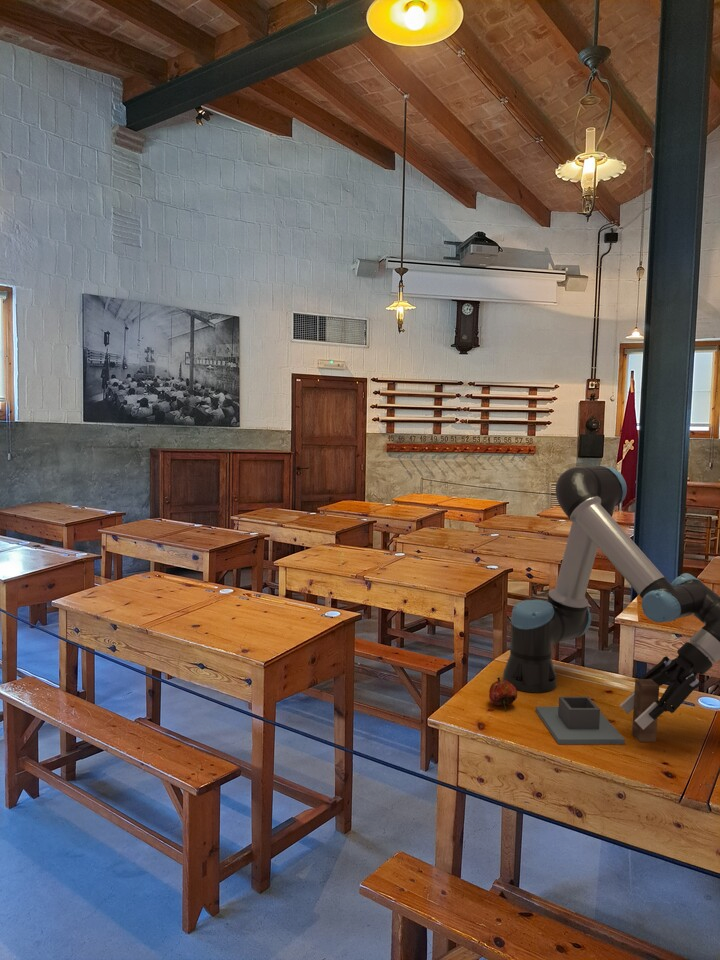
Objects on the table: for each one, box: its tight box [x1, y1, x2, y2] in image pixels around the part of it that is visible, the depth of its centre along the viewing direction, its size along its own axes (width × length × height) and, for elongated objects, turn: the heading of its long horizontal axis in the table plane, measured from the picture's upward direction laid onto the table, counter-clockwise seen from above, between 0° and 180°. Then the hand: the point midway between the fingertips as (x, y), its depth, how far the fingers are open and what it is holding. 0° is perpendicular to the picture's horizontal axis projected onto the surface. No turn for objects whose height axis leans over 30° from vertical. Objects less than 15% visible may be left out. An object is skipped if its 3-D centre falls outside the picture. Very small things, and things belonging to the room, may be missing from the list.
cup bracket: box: [535, 696, 626, 745], centre depth 167 cm, size 18×16×6 cm
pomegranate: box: [488, 677, 518, 712], centre depth 178 cm, size 7×7×10 cm
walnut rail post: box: [631, 678, 660, 743], centre depth 161 cm, size 4×4×14 cm
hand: (631, 717), depth 161 cm, fingers open, 8 cm apart
